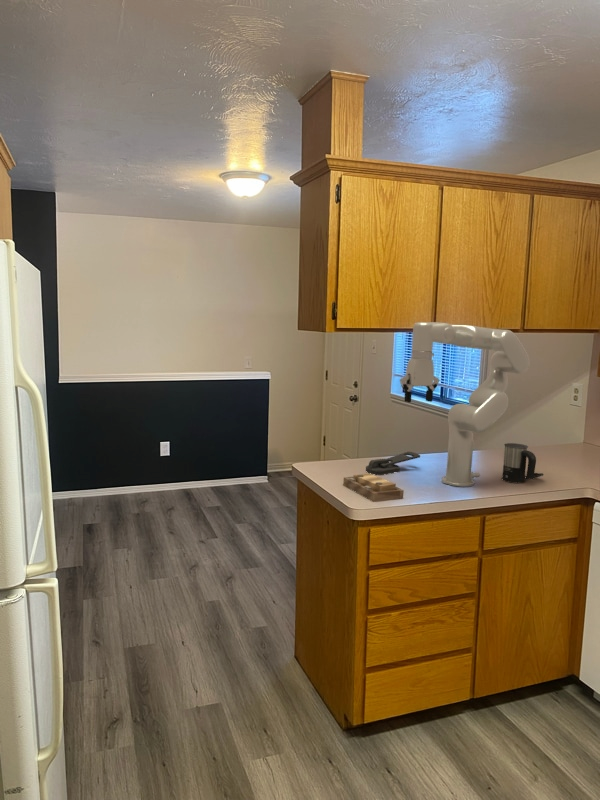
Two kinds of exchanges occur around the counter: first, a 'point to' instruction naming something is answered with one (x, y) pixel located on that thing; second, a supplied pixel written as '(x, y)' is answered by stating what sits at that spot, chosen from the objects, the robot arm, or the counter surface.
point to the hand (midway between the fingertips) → (418, 401)
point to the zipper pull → (389, 463)
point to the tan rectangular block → (374, 482)
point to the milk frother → (518, 463)
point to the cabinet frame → (371, 494)
